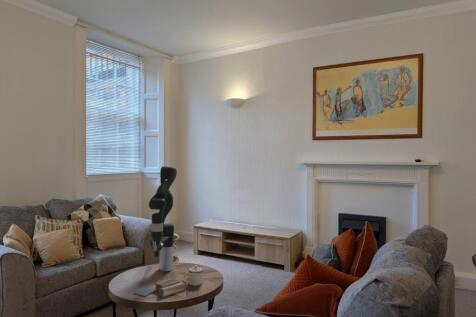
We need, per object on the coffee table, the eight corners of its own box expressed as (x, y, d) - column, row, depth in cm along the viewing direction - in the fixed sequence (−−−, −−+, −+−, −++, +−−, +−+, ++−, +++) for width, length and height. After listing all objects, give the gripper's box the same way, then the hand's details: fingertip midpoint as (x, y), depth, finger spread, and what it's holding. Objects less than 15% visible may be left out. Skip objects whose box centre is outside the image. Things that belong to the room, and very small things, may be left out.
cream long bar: (159, 296, 197) (159, 288, 197) (183, 287, 211) (183, 280, 211) (162, 297, 195) (162, 289, 195) (186, 288, 209) (186, 281, 209)
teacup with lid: (201, 280, 224) (201, 262, 223) (203, 285, 215) (203, 267, 215) (183, 281, 221) (183, 263, 221) (184, 286, 212) (184, 268, 212)
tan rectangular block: (155, 290, 206) (155, 282, 205) (171, 285, 214) (171, 277, 214) (162, 294, 200) (162, 286, 200) (179, 289, 209) (179, 281, 209)
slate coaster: (133, 293, 200) (133, 292, 200) (144, 288, 208) (144, 287, 208) (145, 296, 196) (145, 295, 196) (155, 291, 204) (155, 290, 204)
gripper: (146, 228, 215) (145, 255, 216) (158, 232, 206) (157, 260, 207) (156, 226, 221) (155, 252, 221) (168, 230, 212) (167, 257, 212)
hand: (156, 256), depth 214 cm, fingers closed
